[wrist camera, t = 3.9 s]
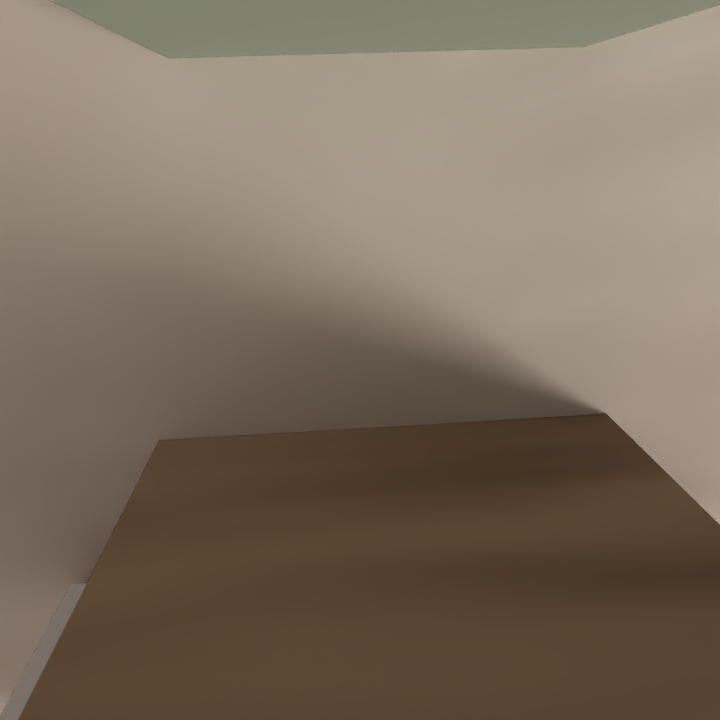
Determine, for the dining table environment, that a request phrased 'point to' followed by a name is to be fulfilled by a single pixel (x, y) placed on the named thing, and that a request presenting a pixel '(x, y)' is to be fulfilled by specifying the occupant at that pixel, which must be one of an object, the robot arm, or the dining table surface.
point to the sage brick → (372, 24)
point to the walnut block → (399, 582)
